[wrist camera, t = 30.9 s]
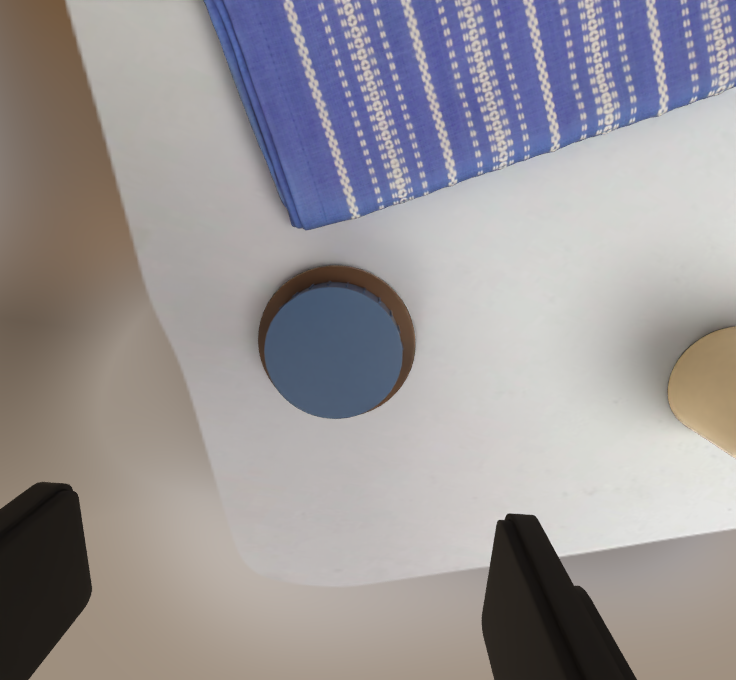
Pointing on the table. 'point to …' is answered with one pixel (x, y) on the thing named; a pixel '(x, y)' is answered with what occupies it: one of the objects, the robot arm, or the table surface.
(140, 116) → the table surface
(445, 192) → the table surface
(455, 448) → the table surface
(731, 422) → the jar
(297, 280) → the coaster
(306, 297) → the lid
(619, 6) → the dish towel
